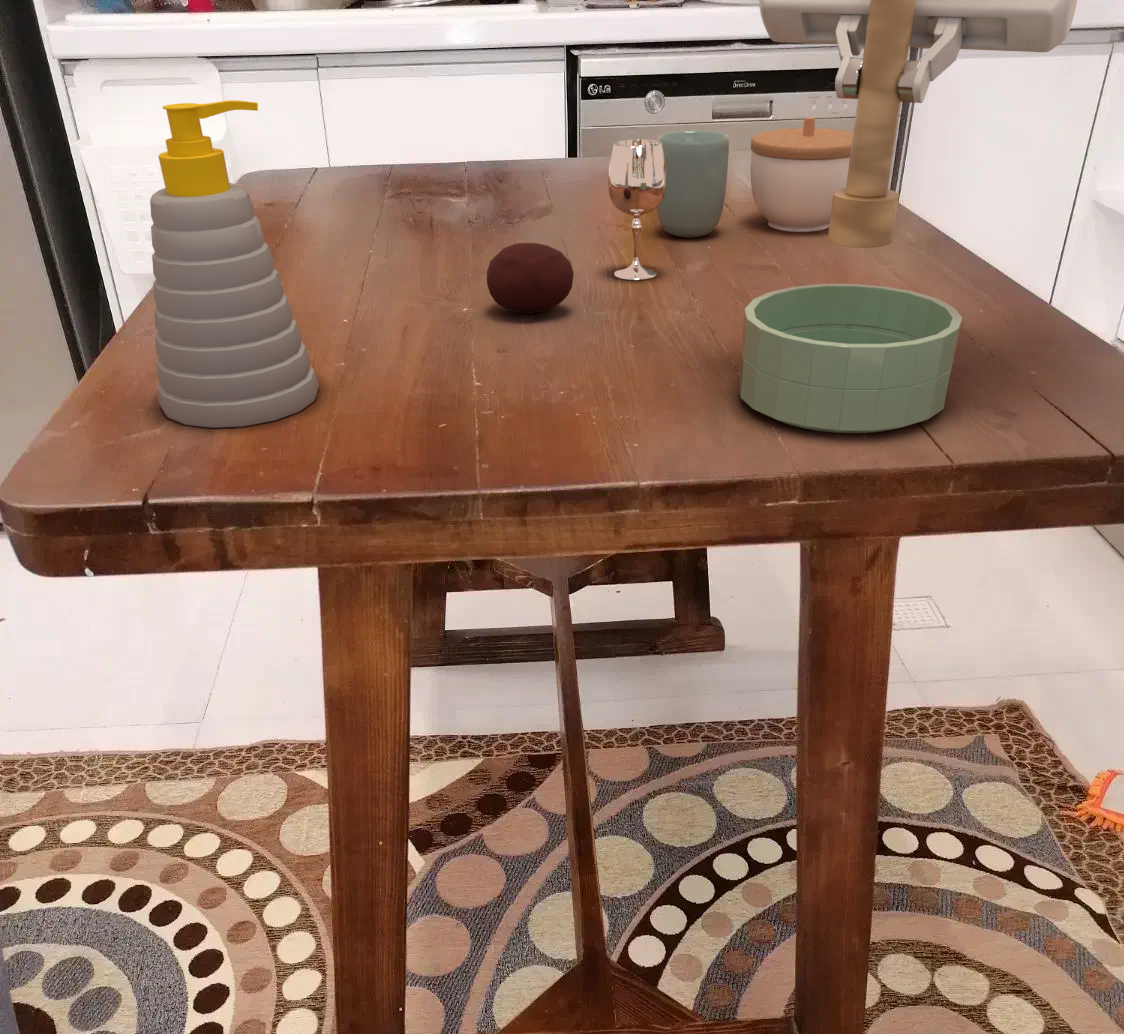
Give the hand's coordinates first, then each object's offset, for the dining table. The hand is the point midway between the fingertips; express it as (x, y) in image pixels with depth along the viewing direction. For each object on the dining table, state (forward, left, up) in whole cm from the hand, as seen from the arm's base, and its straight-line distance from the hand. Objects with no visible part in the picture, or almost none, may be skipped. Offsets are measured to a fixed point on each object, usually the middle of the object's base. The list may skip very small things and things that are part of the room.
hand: (877, 94), depth 71 cm
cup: (+10, -54, -21) cm, 58 cm away
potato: (+26, -24, -21) cm, 41 cm away
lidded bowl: (-3, -58, -21) cm, 61 cm away
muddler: (0, -1, -9) cm, 9 cm away
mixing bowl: (0, -1, -20) cm, 20 cm away
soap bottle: (+47, -1, -21) cm, 51 cm away
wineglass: (+16, -37, -21) cm, 45 cm away
